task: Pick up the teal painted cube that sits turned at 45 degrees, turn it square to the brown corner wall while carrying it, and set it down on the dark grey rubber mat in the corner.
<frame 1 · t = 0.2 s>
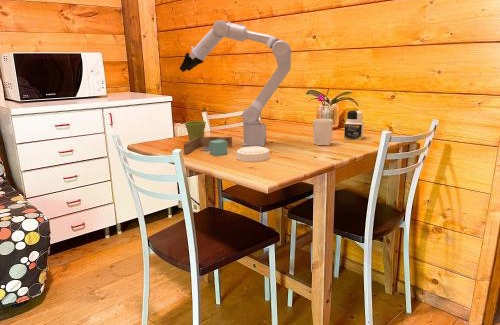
hand: (184, 69, 157), 31 cm above the table, tool tilted 45°, fingers open, 7 cm apart
brown corner wall: (209, 150, 151), on the table
plant pot: (196, 142, 168), on the table
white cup: (322, 144, 156), on the table
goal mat: (210, 149, 153), on the table
cube: (218, 154, 145), on the table
medicine bottle: (353, 138, 165), on the table
white flat cylinder: (253, 159, 137), on the table
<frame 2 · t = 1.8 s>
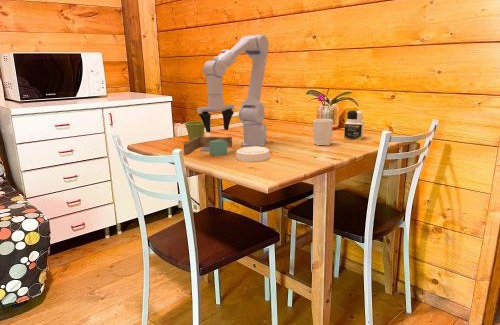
hand: (217, 130, 143), 9 cm above the table, tool pointing down, fingers open, 7 cm apart
nothing on the table moved.
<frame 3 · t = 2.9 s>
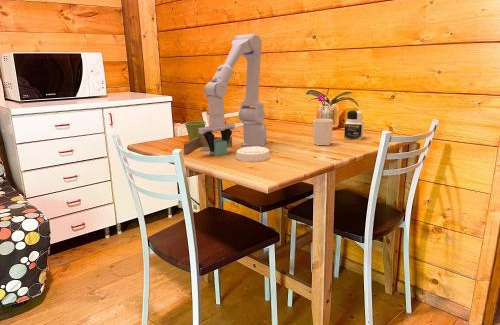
hand: (218, 150, 144), 1 cm above the table, tool pointing down, fingers closed on cube, 5 cm apart
cube: (218, 153, 145), on the table, touching gripper
everything else where it was.
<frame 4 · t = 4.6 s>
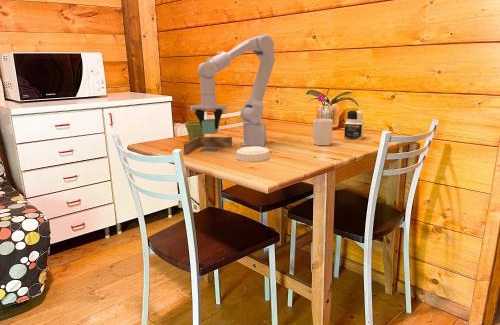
hand: (210, 128, 150), 8 cm above the table, tool pointing down, fingers closed on cube, 5 cm apart
cube: (210, 132, 151), point 7 cm above the table, touching gripper
everything else where it was.
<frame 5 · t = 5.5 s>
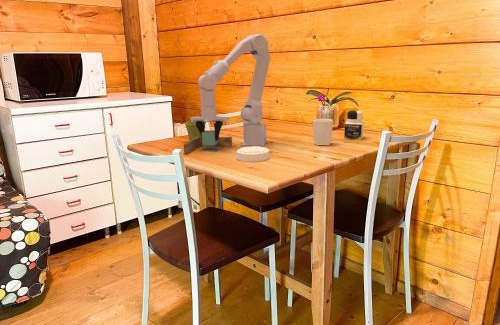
hand: (210, 140, 152), 4 cm above the table, tool pointing down, fingers closed on cube, 5 cm apart
cube: (210, 143, 152), point 2 cm above the table, touching gripper
everything else where it was.
when the fingers open (3 cm above the table, at t = 6.3 s): cube stays where it is, resting on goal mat.
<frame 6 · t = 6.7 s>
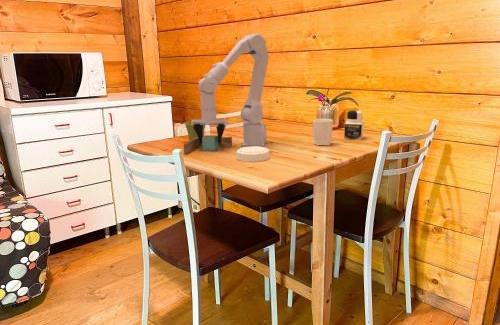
hand: (210, 142, 152), 3 cm above the table, tool pointing down, fingers open, 7 cm apart
cube: (210, 148, 153), resting on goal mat
everything else where it was.
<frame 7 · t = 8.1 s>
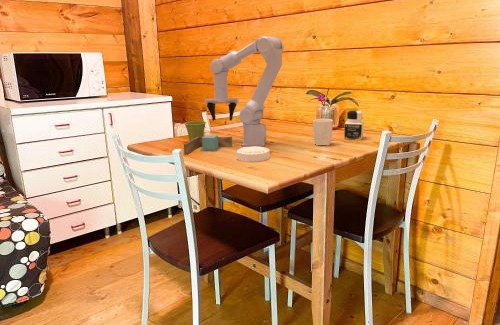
hand: (222, 120, 165), 9 cm above the table, tool pointing down, fingers open, 7 cm apart
nothing on the table moved.
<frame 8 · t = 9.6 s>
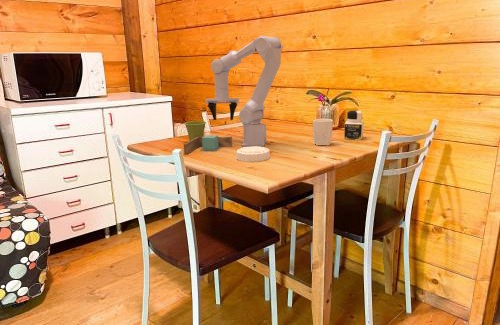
hand: (223, 119, 166), 9 cm above the table, tool pointing down, fingers open, 7 cm apart
nothing on the table moved.
at the end: cube 0.1 cm from the target spot, resting on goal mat; cube tilted 0°; the gripper is holding nothing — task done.
